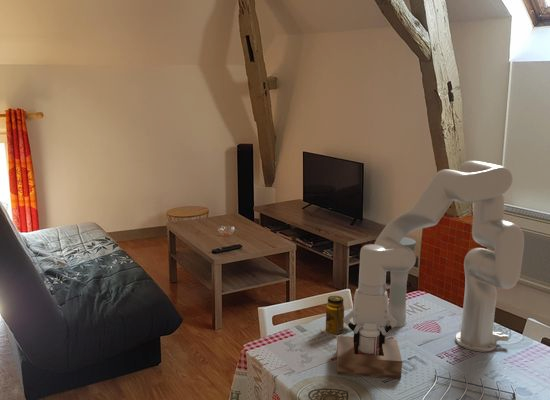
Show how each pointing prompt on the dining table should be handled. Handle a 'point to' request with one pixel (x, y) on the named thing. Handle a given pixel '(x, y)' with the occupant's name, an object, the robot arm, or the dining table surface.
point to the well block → (368, 359)
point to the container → (399, 290)
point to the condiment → (335, 317)
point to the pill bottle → (369, 339)
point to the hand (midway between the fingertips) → (368, 344)
